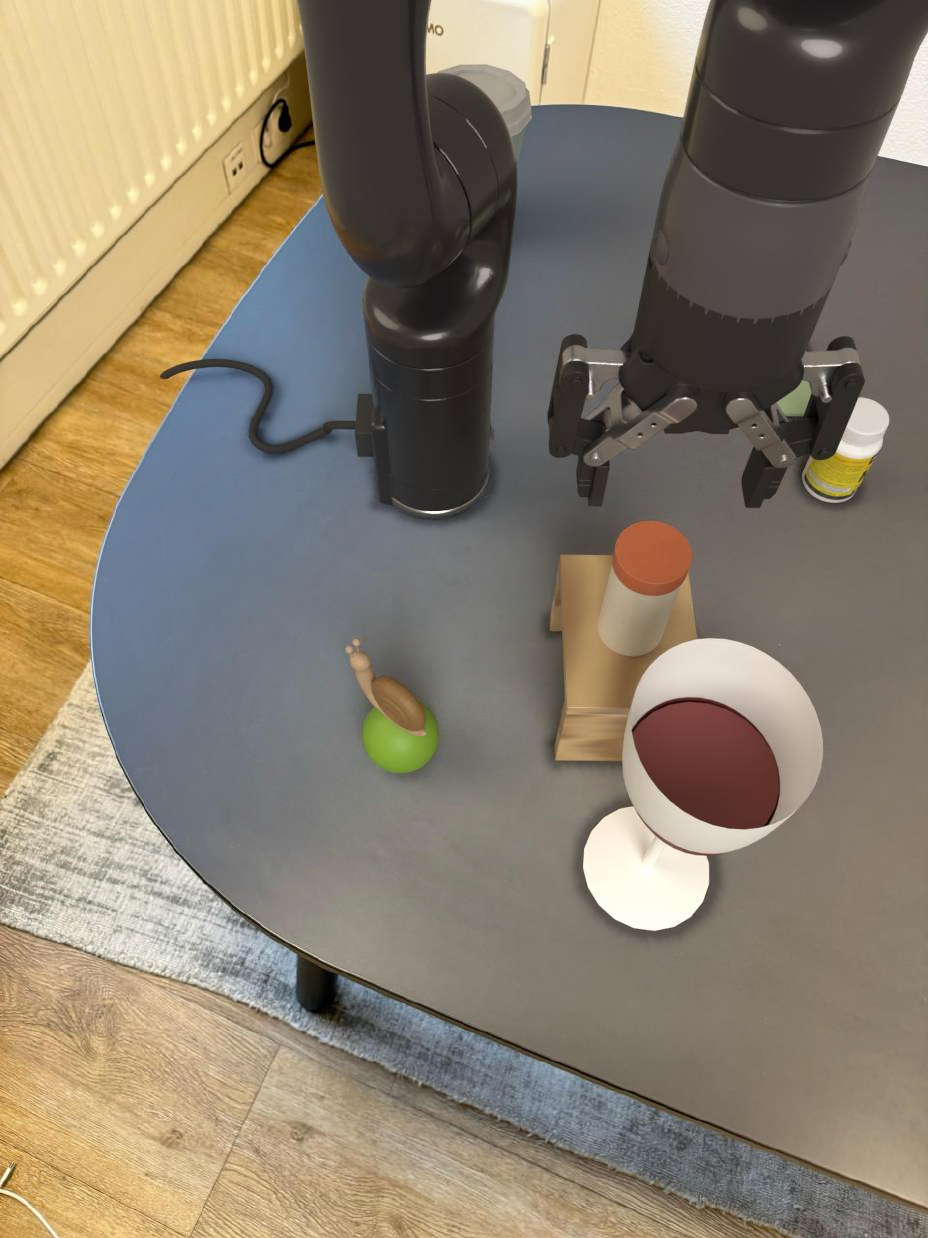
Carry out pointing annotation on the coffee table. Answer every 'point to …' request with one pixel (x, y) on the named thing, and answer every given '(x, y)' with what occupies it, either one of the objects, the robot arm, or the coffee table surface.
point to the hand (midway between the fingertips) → (670, 494)
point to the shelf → (601, 660)
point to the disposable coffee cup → (501, 96)
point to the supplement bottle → (849, 455)
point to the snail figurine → (393, 720)
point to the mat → (796, 400)
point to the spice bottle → (643, 586)
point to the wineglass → (700, 776)
